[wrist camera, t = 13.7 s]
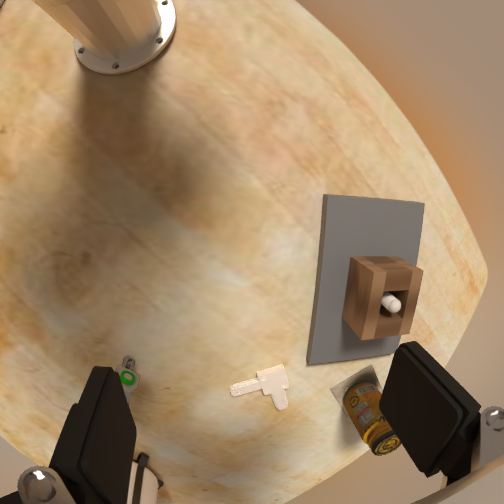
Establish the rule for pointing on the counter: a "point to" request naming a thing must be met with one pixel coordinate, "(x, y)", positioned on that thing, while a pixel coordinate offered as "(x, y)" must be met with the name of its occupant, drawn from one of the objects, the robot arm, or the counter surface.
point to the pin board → (337, 266)
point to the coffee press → (142, 483)
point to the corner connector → (266, 385)
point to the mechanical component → (128, 377)
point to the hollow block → (380, 295)
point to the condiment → (367, 410)
